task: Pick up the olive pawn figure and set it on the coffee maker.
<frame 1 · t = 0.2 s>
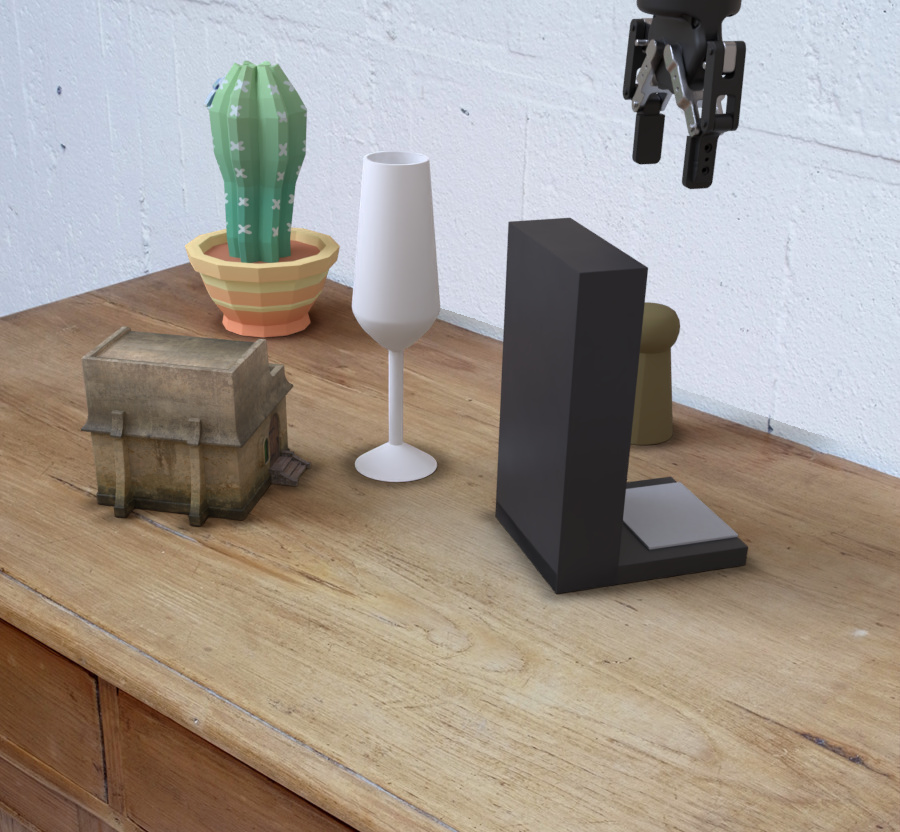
hand: (670, 175, 101), 22 cm above the cabinet, tool pointing down, fingers open, 8 cm apart
miniature house: (208, 483, 103), on the cabinet
potted cactus: (266, 324, 136), on the cabinet
champagne flute: (395, 466, 106), on the cabinet
olive pawn figure: (637, 432, 113), on the cabinet
coffee maker: (607, 541, 95), on the cabinet
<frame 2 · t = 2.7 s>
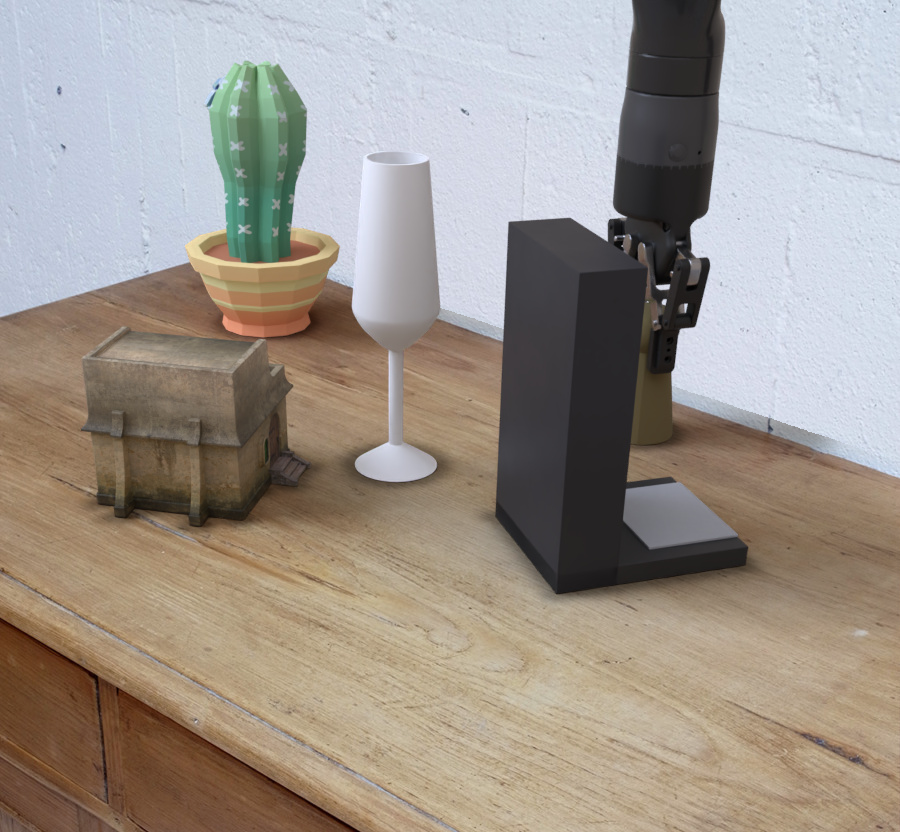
hand: (644, 359, 110), 6 cm above the cabinet, tool pointing down, fingers closed on olive pawn figure, 5 cm apart
olive pawn figure: (637, 432, 113), on the cabinet, touching gripper
everything else where it was.
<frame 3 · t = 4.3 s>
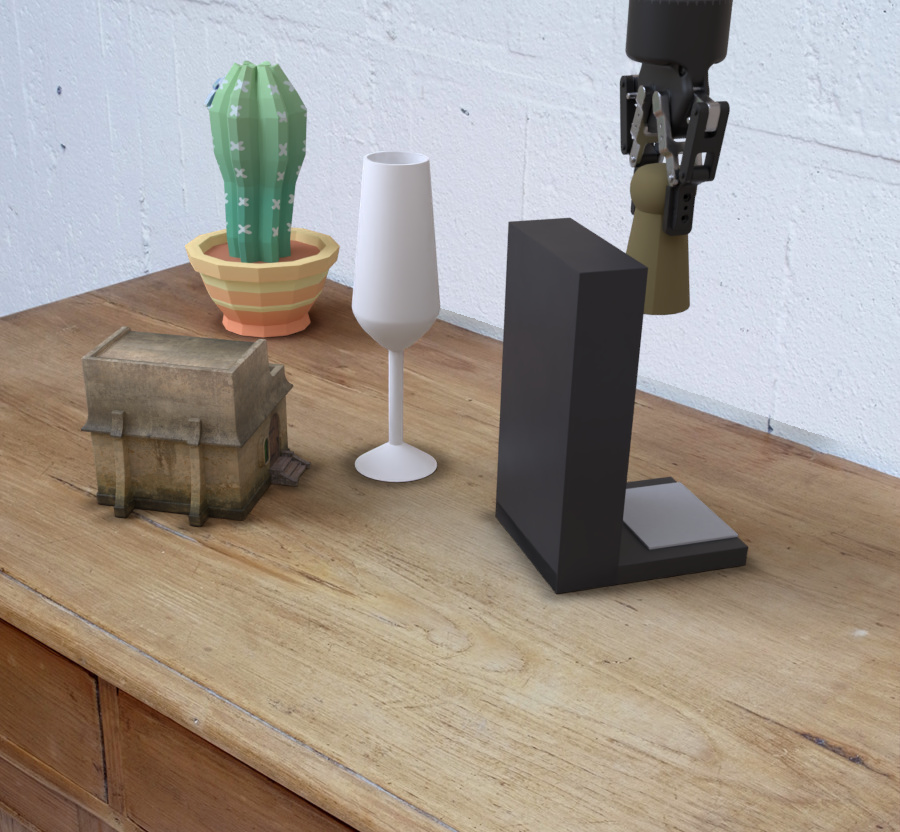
hand: (659, 223, 104), 18 cm above the cabinet, tool pointing down, fingers closed on olive pawn figure, 5 cm apart
olive pawn figure: (652, 305, 108), point 11 cm above the cabinet, touching gripper
everything else where it was.
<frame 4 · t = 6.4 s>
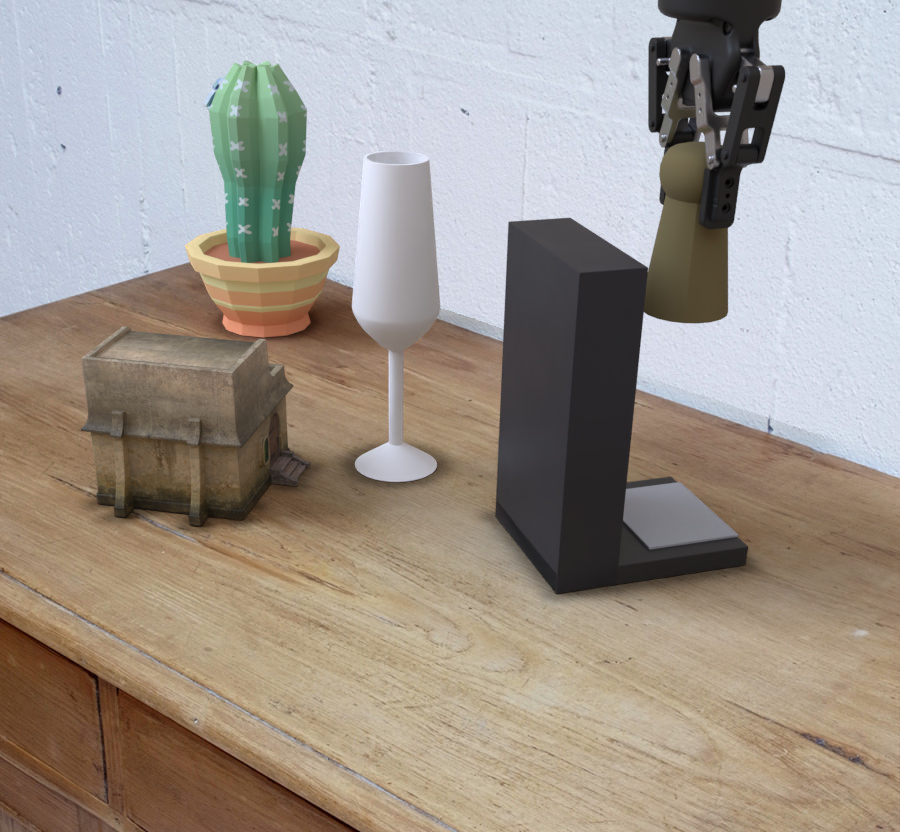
hand: (694, 215, 87), 23 cm above the cabinet, tool pointing down, fingers closed on olive pawn figure, 5 cm apart
olive pawn figure: (683, 311, 91), point 16 cm above the cabinet, touching gripper
everything else where it was.
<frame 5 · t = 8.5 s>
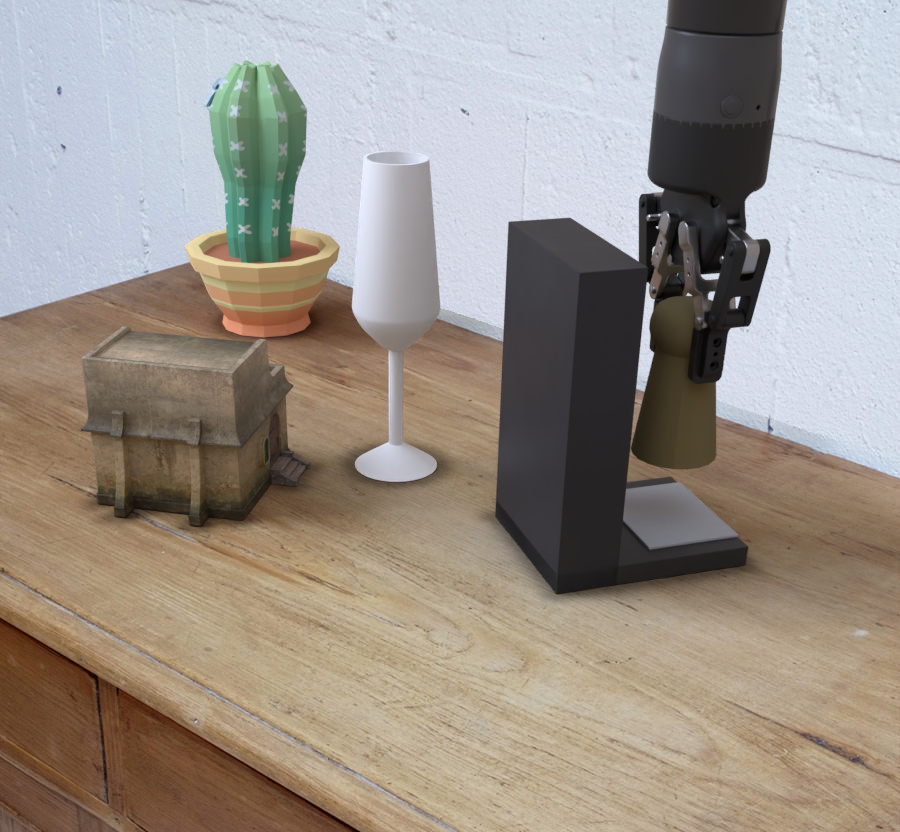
hand: (683, 365, 90), 13 cm above the cabinet, tool pointing down, fingers closed on olive pawn figure, 5 cm apart
olive pawn figure: (673, 454, 93), point 6 cm above the cabinet, touching gripper
everything else where it was.
when the fingers open (8 cm above the cabinet, at t = 10.2 s): olive pawn figure stays where it is, resting on coffee maker.
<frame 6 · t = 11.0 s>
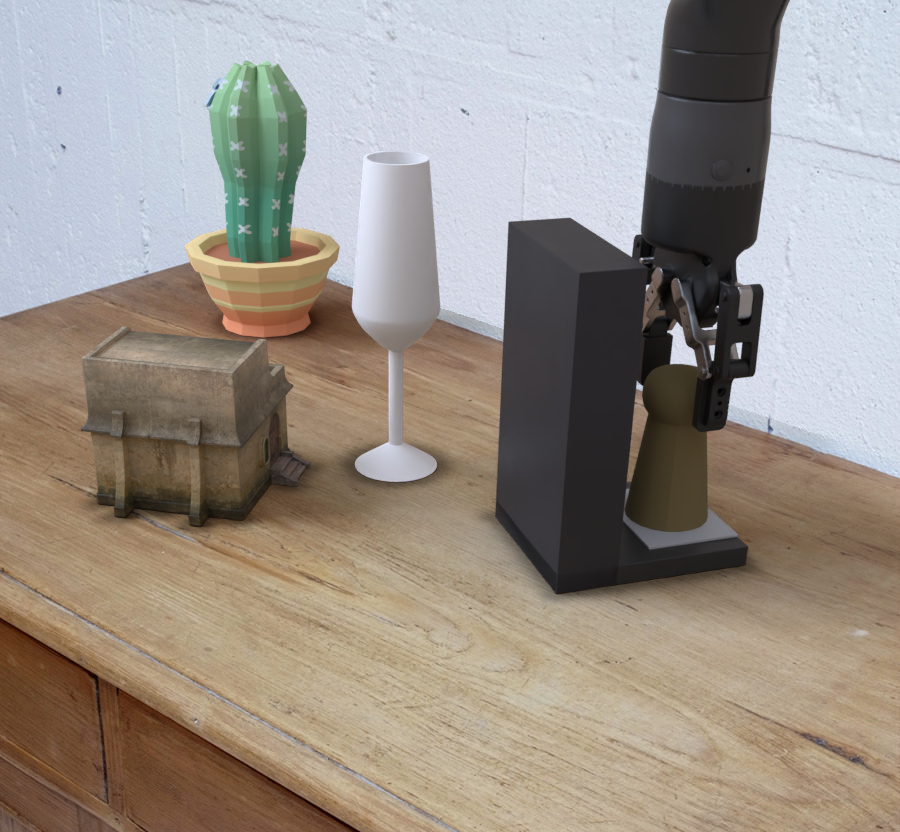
hand: (678, 406, 92), 10 cm above the cabinet, tool pointing down, fingers open, 8 cm apart
olive pawn figure: (665, 515, 96), point 2 cm above the cabinet, touching coffee maker
everything else where it was.
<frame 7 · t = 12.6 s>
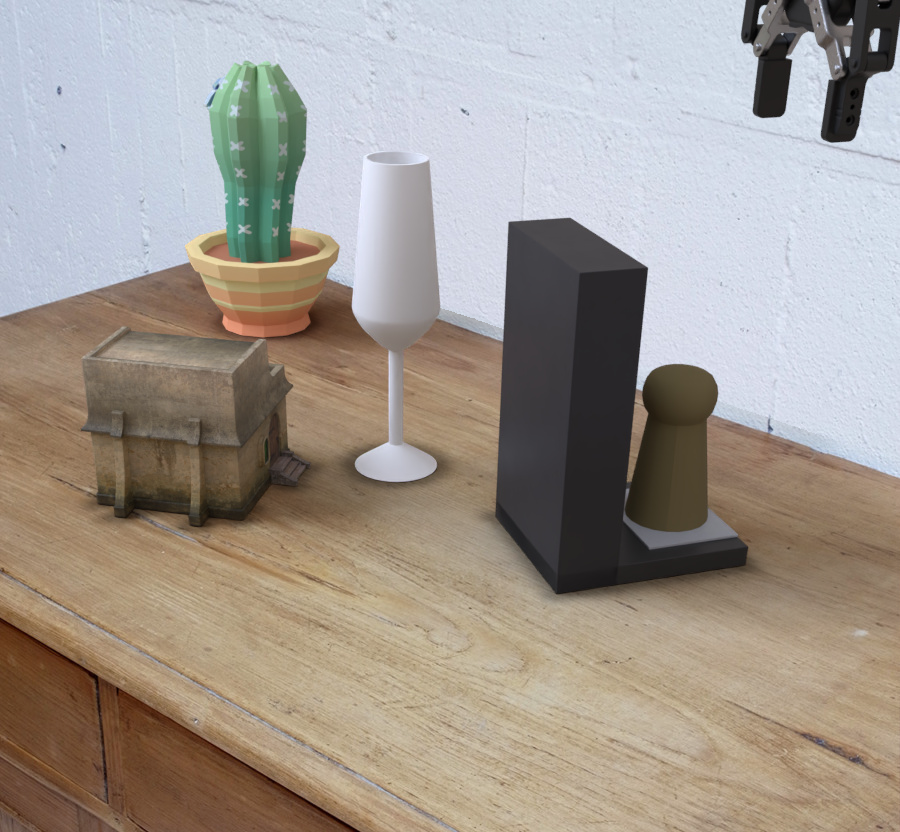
hand: (801, 128, 87), 28 cm above the cabinet, tool pointing down, fingers open, 8 cm apart
nothing on the cabinet moved.
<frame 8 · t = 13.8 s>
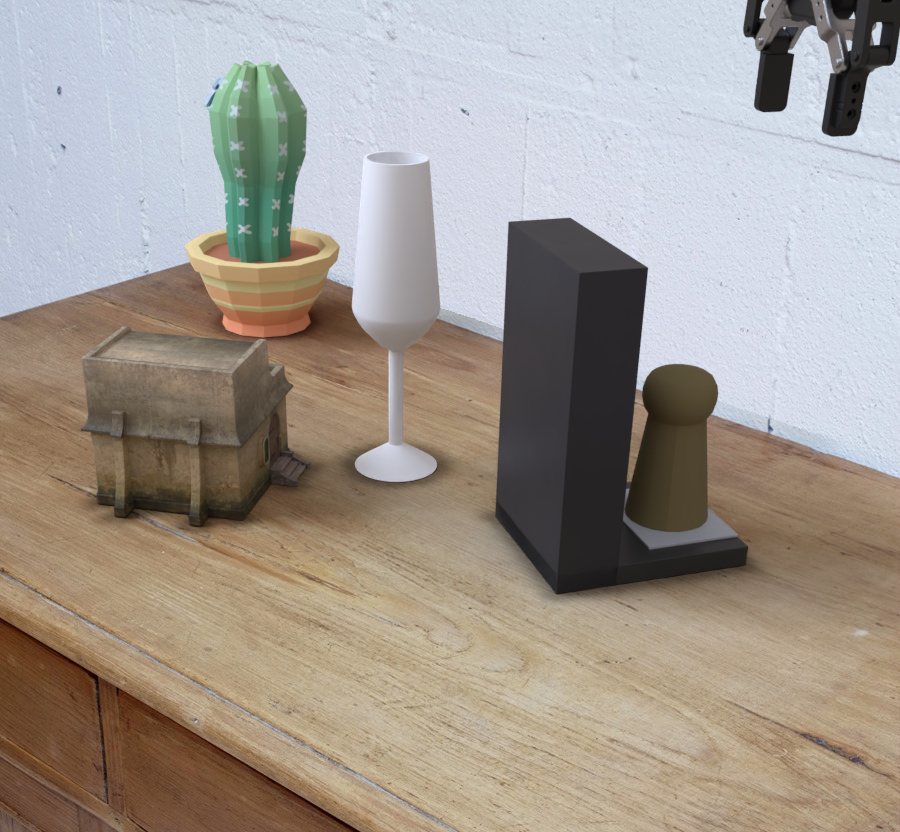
hand: (802, 122, 87), 28 cm above the cabinet, tool pointing down, fingers open, 8 cm apart
nothing on the cabinet moved.
at the end: olive pawn figure 0.0 cm from the target spot on the coffee maker, point 1.5 cm above the coffee maker's base; olive pawn figure tilted 0°; the gripper is holding nothing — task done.
